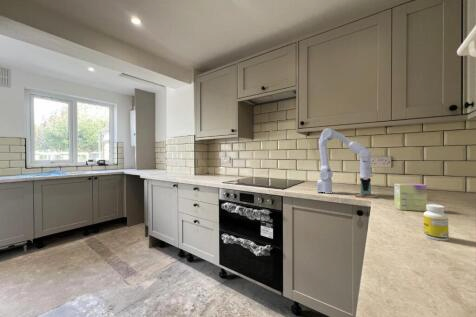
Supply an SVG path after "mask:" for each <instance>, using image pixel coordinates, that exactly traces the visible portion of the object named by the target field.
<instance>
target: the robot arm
mask: <svg viewBox="0 0 476 317" xmlns="http://www.w3.org/2000/svg"><path fill="white" fill-rule="evenodd" d="M332 139H336V140H337V139H338V140H339V141H340V142H343V144H345V145H347V147H348V149H349V150H351V151H352V152H353V153H355V154H356V155H358V157H359V177H360V178H359V180H360V183H361V182H362V186H363V190H364V191H368V187H369V183H371V181H372V179H371V178H373V177H374V175H372V170H371V169H372V167H371V166H372V164H371V156H372V155H371V154H372V152H371V151H370V150H369V149H368V148H366V146H363V145H362V144H360V142H359V141H355V140H354V141H351V140H350V139H349V138H348V137H346V136H344V135H343V134H342V133H340V132H338V131H336V130H334V129H331V128H330V127H329V128H328V127H327V128H324V129H323V131H322V132H321V134H320V136H319V139H318V149H319V150H318V151H319V157H320V169H319V170H320V172H319V177H320V179H317V182H316V190H317V191H316V193H317V192H326V193H325V194H327V193H331V192H332V191H333V179H332V178H333V175H334V174H333V171H332V170H331V166H330V162H329V154H328V145H327V143H329V142H330V140H332ZM319 190H320V191H319Z"/></svg>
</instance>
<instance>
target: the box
mask: <svg viewBox="0 0 476 317" xmlns="http://www.w3.org/2000/svg"><path fill="white" fill-rule="evenodd" d="M393 187H394V188H393V190H394V191H393V192H394V193H393V196H394V199H393V200H394V208H396V209H397V210H399V211H416V212H426V211H427V209H426V205H427V204H428V200H427V198H428V197H427V190H428V189H427V184H424V183H423V184H422V183H396V182H395V183H394V186H393Z"/></svg>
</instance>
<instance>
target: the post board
mask: <svg viewBox="0 0 476 317" xmlns="http://www.w3.org/2000/svg"><path fill="white" fill-rule="evenodd" d="M354 196H355V198H363V199H375V200H376V199H378V197H377V194H376V193H371V194H361V192H360V193H359V192H355V195H354Z"/></svg>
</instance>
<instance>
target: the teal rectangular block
mask: <svg viewBox="0 0 476 317" xmlns="http://www.w3.org/2000/svg"><path fill="white" fill-rule="evenodd" d="M371 185H372V184H371V182H370V183H369V187H368V191H364V190H363V186H362V182H361V181H360V193H361V194H372V193H371V192H372V190H371V189H372V186H371Z"/></svg>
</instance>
